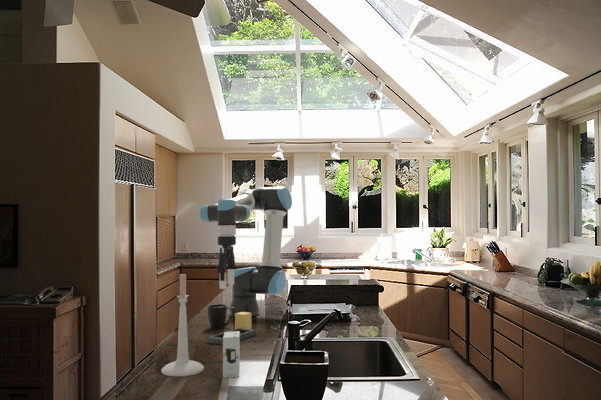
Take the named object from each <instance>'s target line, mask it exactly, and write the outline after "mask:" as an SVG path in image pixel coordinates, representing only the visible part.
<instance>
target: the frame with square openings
mask: <svg viewBox="0 0 601 400" xmlns="http://www.w3.org/2000/svg"><path fill="white" fill-rule="evenodd" d="M234 331H240V341H242V340H245V339H249V338H251V337H253V336H256V335H257V329H244V328H237V329H235V328H234V329H231V330H227V331H224V332H221V333H219V334H215V335H212V336H208V337H207V343H208V344H213V345H220V346H221V345H222V346H223V336H224V333H225V332H234Z"/></svg>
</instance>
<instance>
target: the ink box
mask: <svg viewBox="0 0 601 400" xmlns="http://www.w3.org/2000/svg"><path fill="white" fill-rule="evenodd" d="M224 332H225V333H224ZM224 332H223V333H224V336H223V345H222V378H239V377H240V369H241V368H240V365H241V364H240V363H241V362H240V359H241V357H240V350H241V349H240V344H241V343H240V341H241V340H240V331H234V332H227V331H224Z"/></svg>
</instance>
